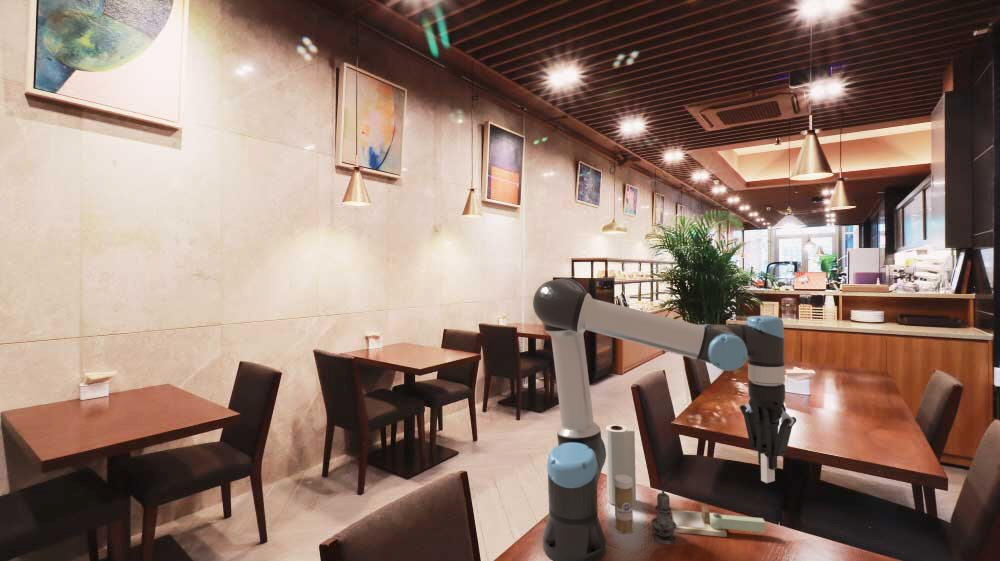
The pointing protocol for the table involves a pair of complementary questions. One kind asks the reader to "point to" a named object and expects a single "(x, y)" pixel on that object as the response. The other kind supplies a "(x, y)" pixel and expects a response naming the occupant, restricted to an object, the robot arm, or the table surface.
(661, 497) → the grey stone chess piece
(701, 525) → the board
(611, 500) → the paper towel roll
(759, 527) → the leg
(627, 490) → the sprinkles bottle
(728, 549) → the table surface
